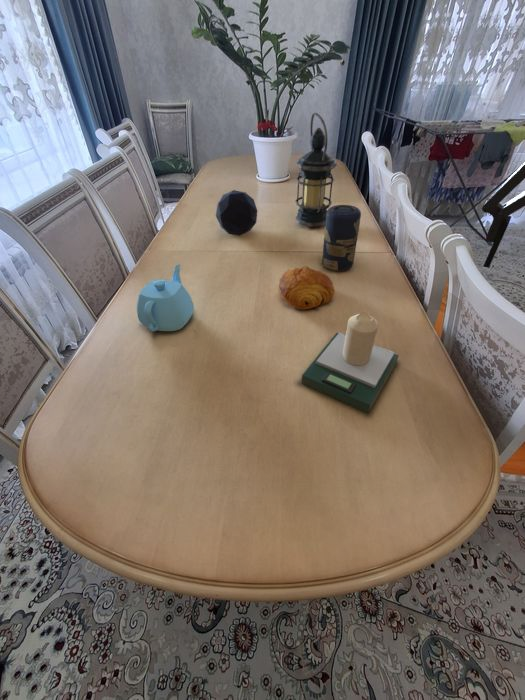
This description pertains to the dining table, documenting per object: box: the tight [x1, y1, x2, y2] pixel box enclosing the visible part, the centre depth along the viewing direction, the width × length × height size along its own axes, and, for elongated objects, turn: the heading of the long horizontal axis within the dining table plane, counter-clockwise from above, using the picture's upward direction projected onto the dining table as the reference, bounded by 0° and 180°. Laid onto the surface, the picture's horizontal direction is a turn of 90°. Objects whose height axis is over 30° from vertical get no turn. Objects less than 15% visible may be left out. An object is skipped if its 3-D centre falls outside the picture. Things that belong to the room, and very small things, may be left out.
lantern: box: [294, 112, 337, 228], centre depth 120 cm, size 14×13×35 cm
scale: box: [301, 332, 399, 414], centre depth 71 cm, size 14×16×3 cm
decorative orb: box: [215, 189, 258, 237], centre depth 122 cm, size 14×15×15 cm
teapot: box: [136, 264, 195, 333], centre depth 85 cm, size 13×11×18 cm
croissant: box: [278, 266, 335, 310], centre depth 92 cm, size 14×16×8 cm
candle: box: [343, 311, 379, 366], centre depth 68 cm, size 6×6×10 cm
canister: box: [321, 204, 362, 272], centre depth 101 cm, size 10×10×18 cm
